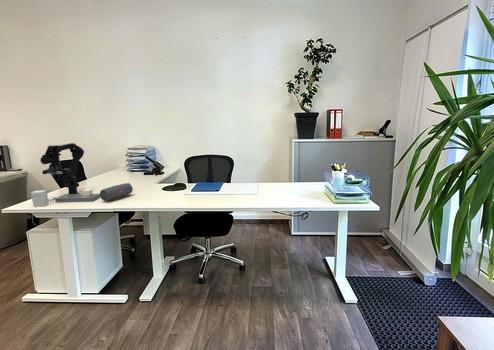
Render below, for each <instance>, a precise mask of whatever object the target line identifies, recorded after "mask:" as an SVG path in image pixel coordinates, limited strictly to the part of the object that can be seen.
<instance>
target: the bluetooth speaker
mask: <svg viewBox="0 0 494 350" xmlns="http://www.w3.org/2000/svg"><path fill="white" fill-rule="evenodd" d="M133 190H134V189H133V186H132V184H131V183H129V182H126V183H121V184H115V185H113V186H109V187H106V188H103V189H101V190H100V192H99V193H100V197H101V198H100V199H101V200H102V201H104V202H105V201H110V200H111V201H115V200H118V199H122V198H124V197H126V196H127V195H129V194H130V195H131V194H132V193H133Z"/></svg>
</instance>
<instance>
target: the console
mask: <svg viewBox="0 0 494 350" xmlns="http://www.w3.org/2000/svg"><path fill="white" fill-rule="evenodd" d="M98 199H101V198H100V192H99V193H93V195H91V196H83V193H79V194H69V193H66V194H65V193H64V194H62V195H60V196H57V197H55V198H54V200H55V203H91V202H92V203H93V202H95V201H97V200H98Z"/></svg>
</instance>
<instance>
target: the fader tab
mask: <svg viewBox="0 0 494 350" xmlns="http://www.w3.org/2000/svg"><path fill="white" fill-rule="evenodd" d="M82 194H83V196H91V195H93V194H94V193H93V189H84V190H82Z"/></svg>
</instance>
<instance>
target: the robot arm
mask: <svg viewBox="0 0 494 350" xmlns="http://www.w3.org/2000/svg"><path fill="white" fill-rule="evenodd" d="M65 150H69V151H70V153H71V157H72V160H71V163H70V168H64V169H63V167H62V162H61V159H60V156H62V153H61V152H62V151H65ZM84 154H85V150H84V149H83V148H82V147H81V146H78V145H77V144H76V143H74V142H73V143H72V142H70V143H65V144H59V145H58V144H57V145H55V144H54V145H48V146H47V148H46V151H45V153H44V154H42V155H41V157H40V160H39V161H40V163H41V164H42V165H49V167H48V168H47V169H43V170H42V175H47V174H49V175H50V176H53V177H54V178H55V180H56V182H57V183H60V182H61V180H62V178H63V177H62V176H63V175H64V174H67V175H64V178H63V180H62V181H63V182H62V183H63V185H64V187H65V188H67V189H68V190H67V191H68V194H80V192H78V187H80V183H79V182H77V177H76V174H77V171H78V167H79V163H80V160H81V159H82V158H83V156H84Z"/></svg>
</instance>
